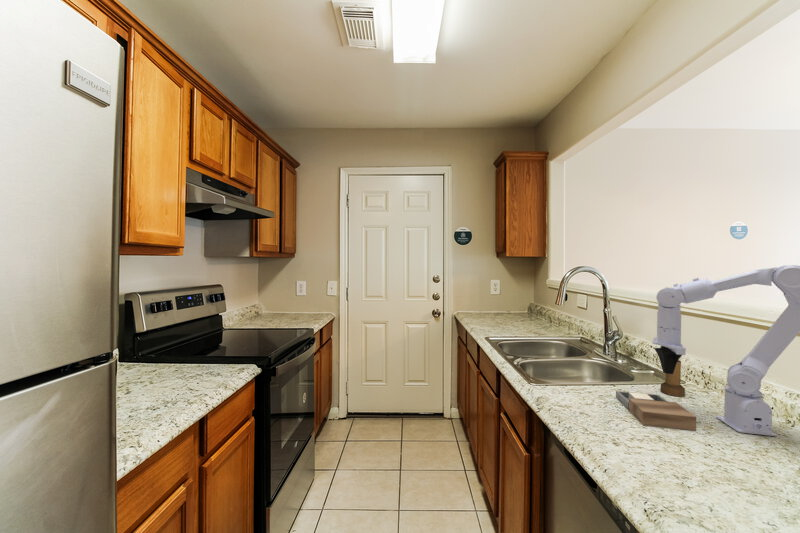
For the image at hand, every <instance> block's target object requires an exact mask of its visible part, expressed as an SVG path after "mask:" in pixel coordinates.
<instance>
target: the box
mask: <svg viewBox="0 0 800 533" xmlns="http://www.w3.org/2000/svg"><path fill="white" fill-rule="evenodd" d="M630 393H634V392H632V391H630ZM640 393H641V394H645V393H642V392H640ZM646 394H647V395H649V396H650V397H651V398H652V399H654V401H664V402H669V401H668V400H666V399H665V398H663V397H662V396H661V394H660V395H659V394H654V393H653V394H651V393H646ZM615 398H616V399H617V398H618V399H619V400H618V399H617V400H618V401H619V402H620V403H621V404H622V405H623V406H624V407H625V408H626V409H627V410H629V391H620V390H619V391H618V390H616V391H615Z"/></svg>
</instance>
